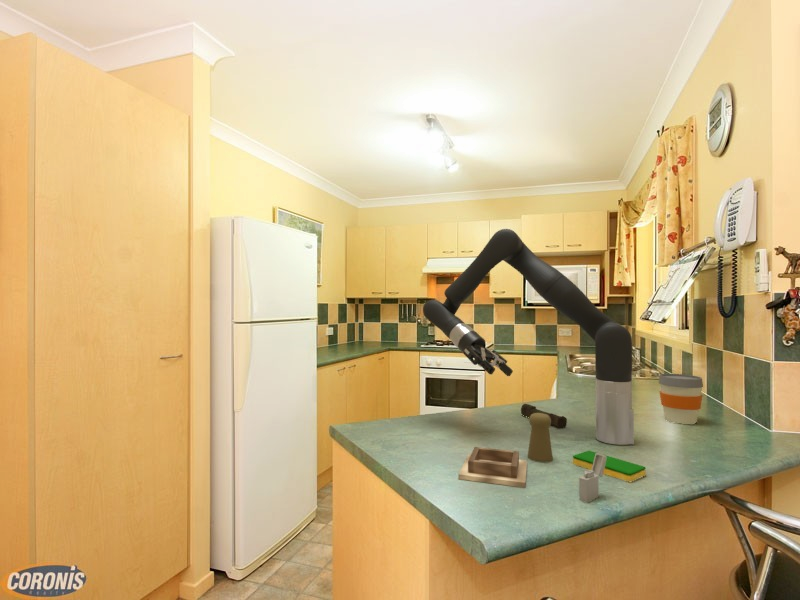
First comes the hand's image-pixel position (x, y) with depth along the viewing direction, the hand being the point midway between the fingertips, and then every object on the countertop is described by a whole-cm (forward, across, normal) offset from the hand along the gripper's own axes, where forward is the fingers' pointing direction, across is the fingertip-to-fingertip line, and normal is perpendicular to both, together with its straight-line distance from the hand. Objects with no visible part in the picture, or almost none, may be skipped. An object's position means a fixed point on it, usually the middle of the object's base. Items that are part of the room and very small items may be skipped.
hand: (502, 372), depth 122 cm
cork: (+23, -2, +9) cm, 25 cm away
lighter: (+40, -14, +1) cm, 42 cm away
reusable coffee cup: (+27, +66, -6) cm, 72 cm away
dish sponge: (+35, +4, +2) cm, 35 cm away
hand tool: (+4, +30, +15) cm, 34 cm away
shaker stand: (+22, -18, +12) cm, 31 cm away
